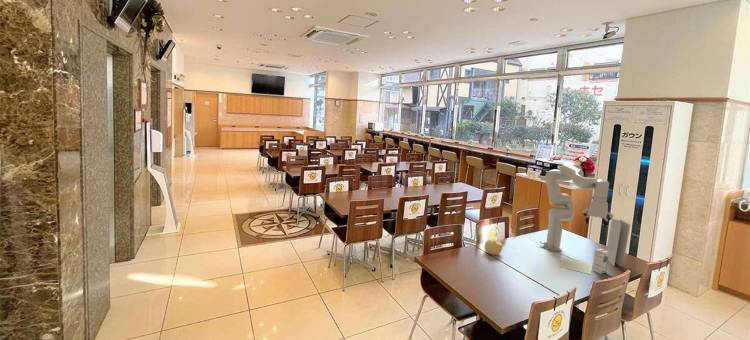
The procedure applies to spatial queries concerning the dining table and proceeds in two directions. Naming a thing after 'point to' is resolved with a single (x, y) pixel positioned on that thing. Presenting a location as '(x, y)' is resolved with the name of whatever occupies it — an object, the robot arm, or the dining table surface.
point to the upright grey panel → (617, 241)
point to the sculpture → (493, 246)
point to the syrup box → (600, 260)
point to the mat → (576, 265)
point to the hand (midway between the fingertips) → (595, 225)
